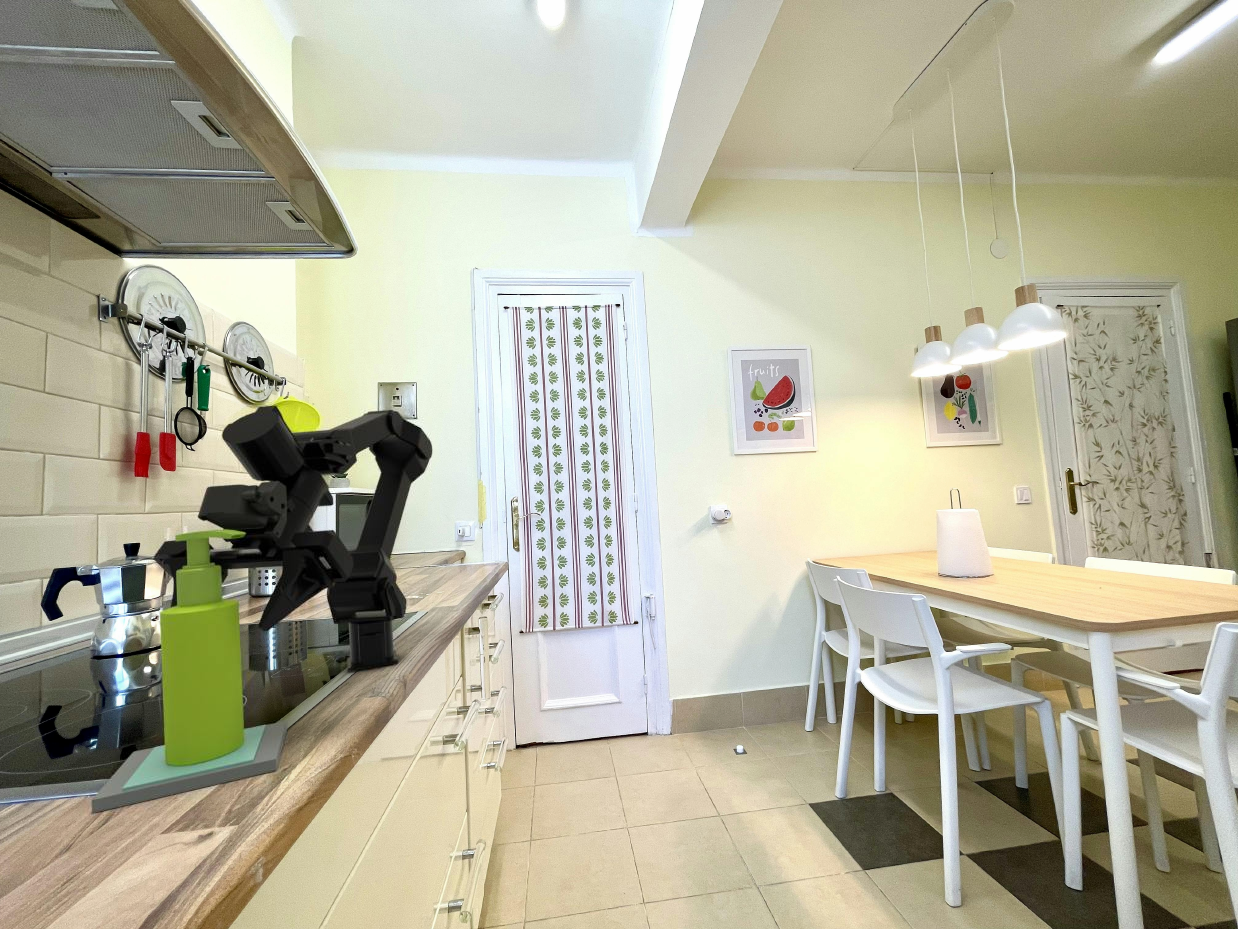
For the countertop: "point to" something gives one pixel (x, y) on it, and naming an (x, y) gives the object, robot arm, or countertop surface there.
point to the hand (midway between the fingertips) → (216, 631)
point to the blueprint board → (190, 769)
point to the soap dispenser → (201, 661)
